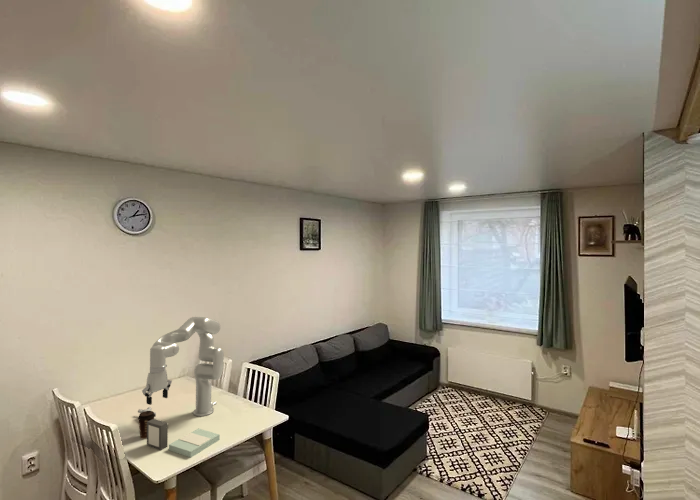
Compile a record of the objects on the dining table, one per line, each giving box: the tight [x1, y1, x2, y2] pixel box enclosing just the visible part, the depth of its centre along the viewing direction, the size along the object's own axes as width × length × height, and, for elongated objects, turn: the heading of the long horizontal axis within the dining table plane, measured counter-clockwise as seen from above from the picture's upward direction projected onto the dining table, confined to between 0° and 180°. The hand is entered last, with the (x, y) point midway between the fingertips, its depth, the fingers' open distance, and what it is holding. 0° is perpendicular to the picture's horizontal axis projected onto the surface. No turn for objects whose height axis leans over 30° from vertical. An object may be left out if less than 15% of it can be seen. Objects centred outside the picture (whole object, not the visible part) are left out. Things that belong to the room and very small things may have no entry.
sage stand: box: [168, 428, 220, 458], centre depth 207 cm, size 20×16×3 cm
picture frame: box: [146, 418, 169, 451], centre depth 205 cm, size 4×11×13 cm, turn 65°
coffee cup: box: [137, 410, 156, 440], centre depth 216 cm, size 9×8×13 cm
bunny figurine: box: [137, 406, 157, 418], centre depth 238 cm, size 10×5×15 cm
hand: (157, 400), depth 205 cm, fingers open, 9 cm apart
